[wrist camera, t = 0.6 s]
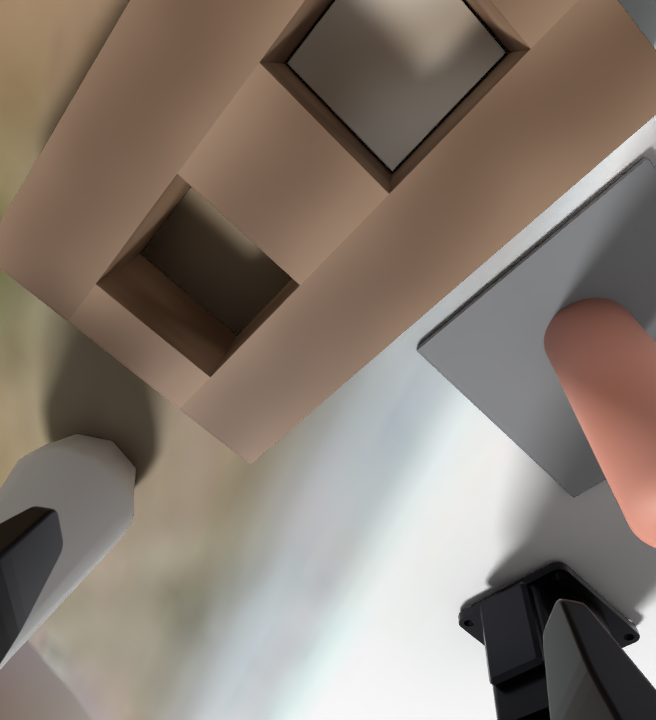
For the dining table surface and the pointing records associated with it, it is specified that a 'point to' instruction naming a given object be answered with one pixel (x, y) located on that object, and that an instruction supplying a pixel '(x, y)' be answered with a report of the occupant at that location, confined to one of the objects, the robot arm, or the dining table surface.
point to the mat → (536, 310)
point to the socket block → (313, 177)
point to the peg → (612, 398)
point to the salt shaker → (72, 510)
